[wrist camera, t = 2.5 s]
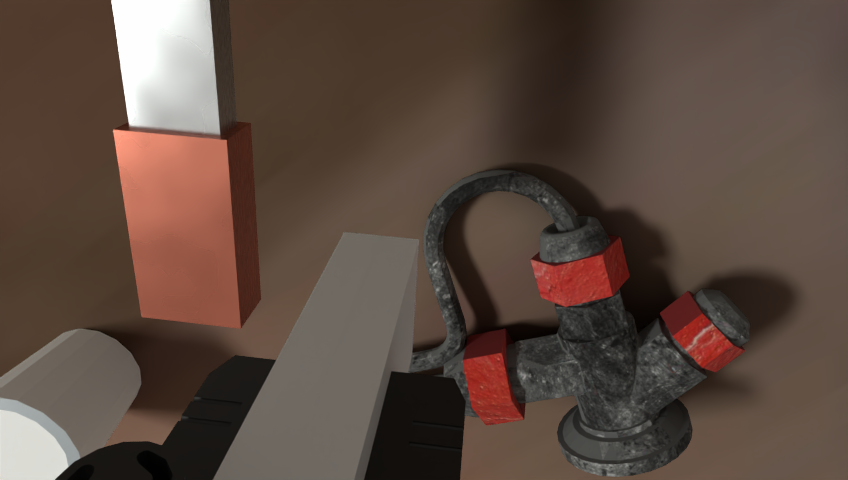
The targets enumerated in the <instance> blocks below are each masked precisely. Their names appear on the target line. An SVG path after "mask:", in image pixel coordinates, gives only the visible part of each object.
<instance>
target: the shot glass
mask: <svg viewBox="0 0 848 480" xmlns="http://www.w3.org/2000/svg"><path fill="white" fill-rule="evenodd" d="M141 384H142V383H141V374H140V368H139V366H138V364H137V363H136V361H135V359H134V357H133V356H132V354H131V352H129V351H128V350H127V349H126V348H125V347H124V346H123V345H122V344H121V343H120V342H118V341H117V340H116V339H114V338H112V337H110V336H108V335H106V334H104V333H101V332H99V331H94V330H87V329H81V328H80V329H76V330H72V331H67V332H64V333H63V334H61V335H60V336H58V337H57V338H56V339H54V340H53V341H51V342H50V343H49V344H47V345H46V346H44V347H43V348H42V349H40V350H39V351H37V352H36V353H34V354H33V355H32V356H30V357H29V358H27V359H26V360H25V361H23V362H22V363H20V364H19V365H17V366H16V367H15V368H13V369H12V370H10V371H9V372H8V373H6V374H5V375H3V376H2V377H0V480H55V479H56V478H57V477H58V476H59V475H60V474H61V473H62V472H63V471H64V470H66V469H67V468H68V467H69V466H70V465H71V464H72V463H73V462H74V461H76V460H78V459H80V458H82V457H84V456H86V455H88V454H90V453H91V452H93V451H95V450H97V449H100V448H103V447H104V446H105V444H106V443H107V441H108V440H109V438H110V437H111V435H112V433H113V432H114V430H115V429H116V427H117V426H118V424H119V423H120V421H121V419H122V418H123V416H124V415H125V413H126V412H127V410H128V409H129V407H130V405H131V404H132V402H133V401H134V399H135V398H136V396H137V394H138V391H139V389H140V386H141Z"/></svg>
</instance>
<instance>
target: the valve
mask: <svg viewBox="0 0 848 480" xmlns="http://www.w3.org/2000/svg"><path fill="white" fill-rule="evenodd" d="M492 191H508V192H514V193H517V194H521V195H524V196H526V197H528V198H530V199H532V200H533V201H535V202H537V203H538V204H539V205H540V206H541V207H543V208H544V209H545V210H546V211H547V212H548V214H549V215H550V216H551V218H552V219H553V221H554V222H555V223H553V224H551V225H549V226H547V227H546V228H545V229H544V230H543V231H542V232H541V236H540V252H539V253H538V254H536V255H535V256H534V257H533V258H532V259H530V260H531V264H532V267H533V271H534V274H535V278H536V281H537V285H538V288H539V292H540V295H541V298H544V299H546V300H549V301H551V302H554V303H555V309H556V312H557V316H558V319H559V323H560V327H559V329H558V331H557V334H554V335H549V336H543V337H538V338H532V339H527V340H521V341H516V342H515V343H513V341H512V339H511V337H510V336H509V334H508V332H507V330H506V329H501V330H496V331H491V332H486V333H481V334H476V335H470V336H469V337H468V341H467V345H466V346H464V343H465V338H466V333H467V331H466V324H465V319H464V316H463V313H462V310H461V307H460V303H459V300H458V297H457V294H456V291H455V288H454V285H453V281H452V278H451V275H450V272H449V269H448V266H447V263H446V259H445V254H444V249H443V244H444V233H445V229H446V226H447V223H448V221H449V219H450V217H451V216H452V214H453V213H454V212H455V211H456V210H457V208H458V207H459V206H460V205H461V204H463V203H464V202H466V201H467V200H469V199H470V198H472V197H474V196H477V195H480V194H482V193H486V192H492ZM423 252H424V256H425V261H426V266H427V269H428V272H429V275H430V279H431V282H432V285H433V288H434V291H435V294H436V297H437V300H438V303H439V306H440V309H441V312H442V315H443V318H444V321H445V324H446V329H447V337H446V340H445V341H444V343H443V344H441V345H440V346H439V347H436V348H434V349H430V350H424V351H419V352H414V353H412V357H411V362H410V367H409V372H408V373H412V372H417V371H423V370H428V369H433V368H438V367H441V366H443V365H444V373H440V374H434V375H430V376H439V377H448V378H454V379H455V381H456V383H457V385H458V387H459V389H460V391H461V393H462V395H463V397H464V399H465V401H466V406H465V416H472V417H480V418H481V420H482V421H483V422H484V423H485V425H492V424H499V423H506V422H512V421H519V420H524V414H525V403H527V402H534V401H540V400H546V399H553V398H559V397H565V396H572V395H574V396H575V397H576V400H577V405H576V406H574V407H573V408H572V409H571V410H570V411H569V412H568V413H567V414H566V415H565V416H564V417H563V419H562V420H561V422H560V424H559V427H558V431H557V434H558V440H559V444H560V447H561V451H562V453H563V455H564V456H565V458H566V459H567V461H569V462H570V463H571V464H572V465H574V466H575V467H577V468H579V469H581V470H583V471H585V472H588V473H592V474H596V475H601V476H615V477H619V476H630V475H637V474H641V473H645V472H649V471H652V470H655V469H657V468H660V467H662V466H664V465H666V464H668V463H669V462H671V461H672V460H674V459H676V458H677V457H678V456H679V455H680V454H681V453H682V452H683V451H684V450H685V449H686V448H687V446H688V444H689V442H690V440H691V438H692V425H691V421H690V417H689V414H688V411H687V408H686V407H685V406H684V405H683V404H682V402H681V401H679V400H678V399H677V398H678V397H679V396H681V395H682V394H684V393H685V392H687V391H688V390H689V389H691V388H692V387H694V386H695V385H697V384H698V383H700V382H701V381H702V380H704V379H705V378H707V375H706V372H705V370H704V368H705V369H708V370H710V371H713V372H717V371H718V370H719V369H721V368H722V367H724V366H725V365H726V364H728V363H729V362H731V361H732V360H733V359H735V358H736V357H738V356H739V355H740V354H742V353H743V352H744V351H745V350H744V348H743V347H742V345H743V344H744V343H746V342H747V341H749V334H750V322H749V321H748V319H747V318H746V317H745V315H744V314H743V313H742V312H741V311H740V310H739V308H738V307H737V306H736V305H735V304H734V303H733V302H732V301H731V300H730V299H729V298H728V297H727V296H726V295H725V294H723V293H722V292H721V291H719V290H712V289H701V290H700V291H699V292H697V293H696V294H695V295H694V294H692V293H691V292H689V291H687V292H686V293H684V294H683V295H682V296H681V297H679V298H678V299H677V300H676V301H674V302H673V303H672V304H670V305H669V306H668V307H667V308H665V309H664V310H663V311H662V312H660V315H661V316H662V318H663V320H664V322H665V323H664V322H663V321H661V320H660V319H659V318H656V319H655V320H654V321H653V322H651V323H650V324H649V325H648V326H646V327H645V328H644V329H643V330H642V331H640V332H639V333H637V329H636V325H635V321H634V317H633V315H632V314H631V313H630V312H628V311H626V310H625V308H624V304H623V300H622V296H621V293H620V289H619V288H620V287H621V286H622V285H623V284H624V283H625V281H626V280H627V279H628V278H629V277H630V275H629V271H628V267H627V263H626V259H625V255H624V251H623V246H622V242H621V238H620V237H618V236H613V235H607V234H606V232H605V230H604V229H603V227H602V225H601V224H600V222H599V220H598V219H597V218H594V217H592V216H577V217H576V216H575V214H574V212H573V210H572V209H571V207H570V206H569V204H568V203H567V201H566V200H565V199H564V197H563V196H562V195H561V194H559V193H558V192H557V191H556V190H555V189H554V188H553V187H552V186H551V185H549V184H547V183H546V182H544V181H542V180H540V179H538V178H537V177H535V176H533V175H529V174H526V173H522V172H519V171H515V170H501V169H496V170H489V171H483V172H478V173H476V174H473V175H471V176H468V177H466V178H463V179H462V180H460V181H459V182H457V183H456V184H454V185H453V186H451V187H450V188H449V189H448V190H447V191H446V192H445V193H444V194H443V195H442V196H441V197H440V199H439V200H438V201H437V202H436V204H435V205H434V207H433V209H432V211H431V213H430V215H429V216H428V219H427V223H426V227H425V230H424V238H423Z"/></svg>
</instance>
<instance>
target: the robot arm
mask: <svg viewBox="0 0 848 480" xmlns="http://www.w3.org/2000/svg"><path fill="white" fill-rule="evenodd" d="M418 249H419V239H409V238H399V237H389V236H379V235H369V234H358V233H348V232H344V233H343V235H342V237H341V239H340V241H339V243H338V244H337V246H336V248H335V250H334V252H333V254H332V256H331V258H330V260H329V261H328V263H327V265H326V267H325V269H324V271H323V273H322V275H321V277H320V278H319V280H318V282H317V284H316V286H315V288H314V290H313V292H312V294H311V295H310V297H309V299H308V301H307V303H306V305H305V307H304V309H303V311H302V312H301V314H300V316H299V318H298V320H297V322H296V324H295V326H294V328H293V329H292V331H291V333H290V335H289V337H288V339H287V341H286V343H285V345H284V346H283V348H282V350H281V352H280V354H279V356H278V358H277V360H271V359H263V358H254V357H245V356H236V355H235V356H234V357H232V358H231V359H230V360H228V361H227V362H225V363H224V364H223V365H221V366H220V367H218V368H217V369H215V370H214V371H213V372H211V373H210V374H209V375H208V377H207V378H206V380H205V381H204V383H203V384H202V386H201V387H200V389H199V390H198V392H197V393H196V395H195V396H194V401H191V402H190V404H189V405H188V407H187V408H186V410H185V411H184V413H183V414H182V416H181V421H178V422H177V424H176V425H175V427H174V428H173V430H172V431H171V433H170V434H169V436H168V437H167V439H166V440H165V442H164V443H163V445H158V444H155V443H152V442H148V441H145V442H122V443H118V444H114V445H111V446H107V447H103V448H100V449H97V450H95V451H93V452H91V453H90V454H88V455H86V456H84V457H82V458H80V459H78V460H76V461H74V462H73V463H72V464H71V465H70V466H69V467H68V468H67V469H66V470H64V471H63V472H62V473H61V474H60V475H59V476H58V477H57V478H56V479H55V480H460V471H461V458H462V445H463V431H464V419H465V406H466V401H465V399H464V397H463V395H462V393H461V391H460V389H459V387H458V385H457V383H456V381H455V379H454V378H448V377H439V376H430V375H422V374H413V373H408V372H409V367H410V362H411V357H412V350H413V333H414V316H415V299H416V283H417V266H418Z"/></svg>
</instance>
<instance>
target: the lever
mask: <svg viewBox="0 0 848 480" xmlns="http://www.w3.org/2000/svg"><path fill="white" fill-rule="evenodd" d="M112 6H113V14H114V21H115V28H116V35H117V42H118V49H119V56H120V63H121V71H122V78H123V85H124V92H125V99H126V106H127V113H128V120H129V122H128V123H126V124H124V125H122V126H120V127H118V128H116V129H114V130H113V131H114V138H115V145H116V151H117V158H118V164H119V171H120V178H121V184H122V191H123V197H124V204H125V211H126V217H127V224H128V230H129V237H130V244H131V250H132V257H133V263H134V270H135V277H136V283H137V290H138V296H139V303H140V310H141V316H142V317H146V318H155V319H163V320H172V321H180V322H189V323H197V324H206V325H214V326H223V327H231V328H240V329H241V328H242V326H243V325H244V323H245V322H246V320H247V319H248V317H249V316H250V315H251V313H252V312H253V310H254V309H255V307H256V306H257V304H258V303H259V301H260V300H261V292H260V274H259V257H258V240H257V223H256V205H255V188H254V171H253V154H252V137H251V123H245V122H237V118H236V103H235V88H234V73H233V59H232V44H231V29H230V14H229V0H112Z"/></svg>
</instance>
